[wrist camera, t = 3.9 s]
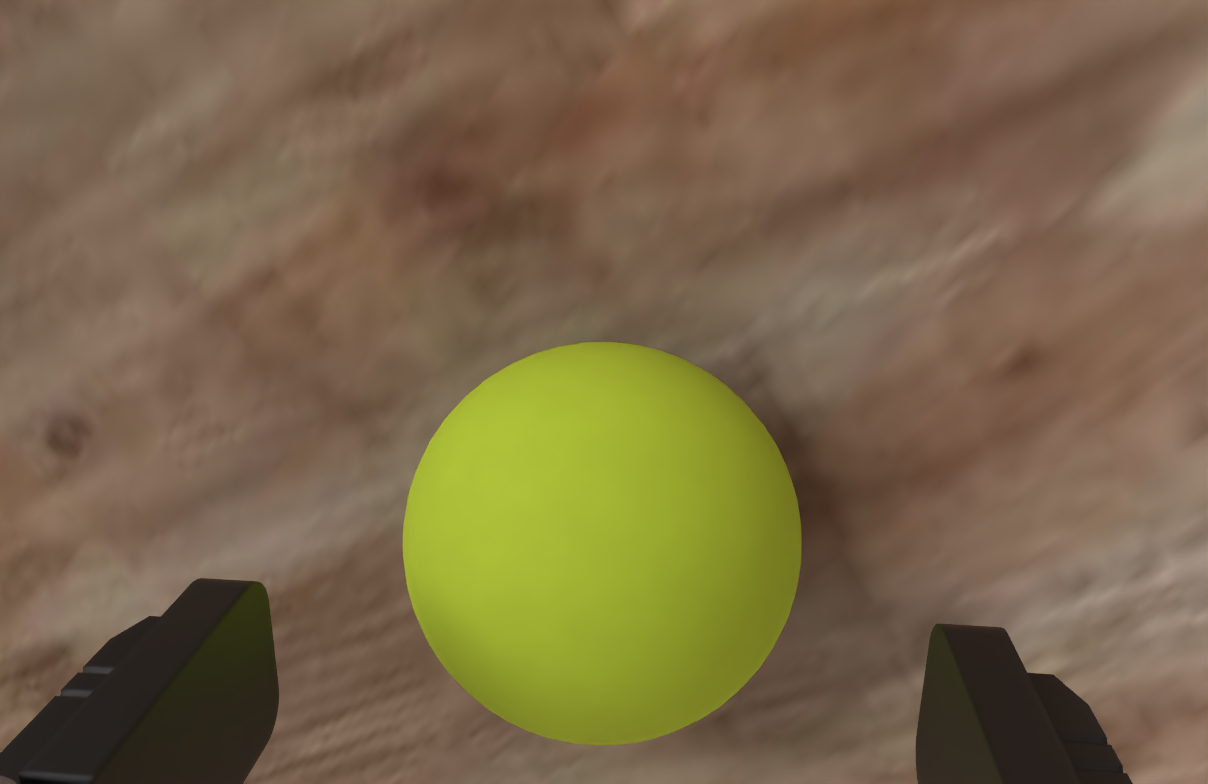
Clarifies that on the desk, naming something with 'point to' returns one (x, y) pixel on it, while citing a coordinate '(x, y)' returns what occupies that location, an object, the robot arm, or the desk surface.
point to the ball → (602, 543)
